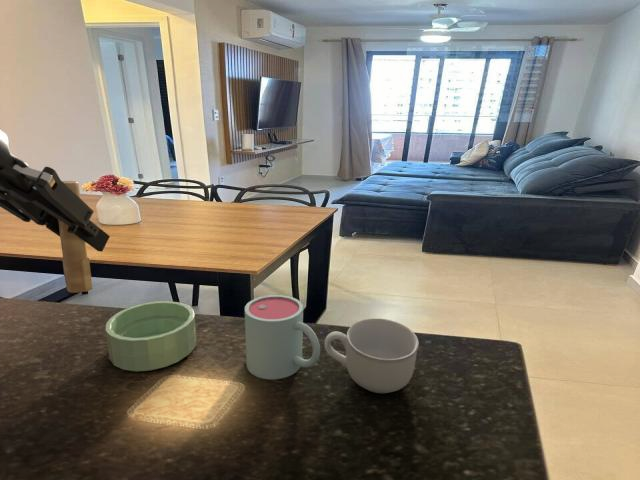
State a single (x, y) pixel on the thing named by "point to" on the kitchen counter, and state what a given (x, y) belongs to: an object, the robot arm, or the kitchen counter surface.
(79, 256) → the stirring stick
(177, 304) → the bowl
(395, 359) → the teacup
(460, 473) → the kitchen counter surface
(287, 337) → the mug
